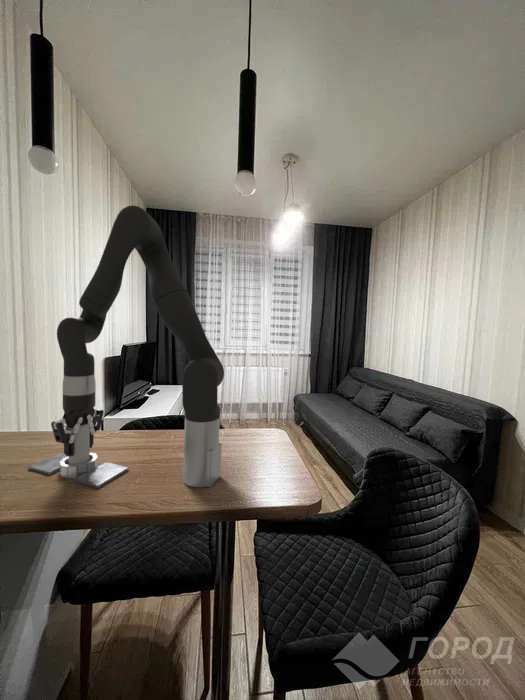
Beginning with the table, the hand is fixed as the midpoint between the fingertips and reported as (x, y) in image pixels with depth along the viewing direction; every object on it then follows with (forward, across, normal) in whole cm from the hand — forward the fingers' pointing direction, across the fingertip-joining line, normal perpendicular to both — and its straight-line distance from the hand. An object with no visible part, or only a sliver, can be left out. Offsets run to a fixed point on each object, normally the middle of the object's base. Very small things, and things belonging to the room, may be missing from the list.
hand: (79, 451), depth 77 cm
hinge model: (+5, 0, 0) cm, 5 cm away
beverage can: (+4, 0, 0) cm, 4 cm away
